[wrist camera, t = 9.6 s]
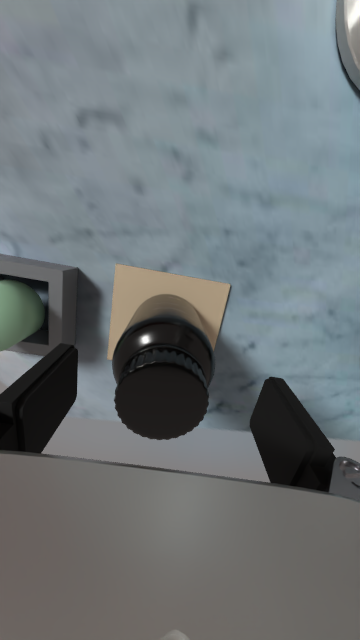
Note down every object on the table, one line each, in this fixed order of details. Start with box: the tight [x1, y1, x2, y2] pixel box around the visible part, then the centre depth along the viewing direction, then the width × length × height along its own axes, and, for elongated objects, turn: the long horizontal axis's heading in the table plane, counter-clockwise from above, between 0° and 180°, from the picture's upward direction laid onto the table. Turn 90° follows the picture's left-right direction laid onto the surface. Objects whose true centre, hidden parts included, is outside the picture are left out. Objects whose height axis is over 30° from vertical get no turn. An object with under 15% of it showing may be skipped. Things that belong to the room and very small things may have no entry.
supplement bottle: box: [112, 294, 215, 440], centre depth 17 cm, size 7×7×12 cm
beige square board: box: [107, 264, 230, 360], centre depth 22 cm, size 11×10×1 cm
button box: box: [0, 254, 78, 356], centre depth 20 cm, size 8×8×3 cm
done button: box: [0, 280, 45, 351], centre depth 17 cm, size 5×5×3 cm
